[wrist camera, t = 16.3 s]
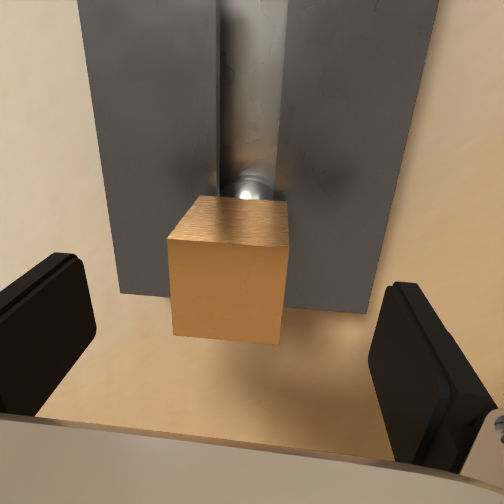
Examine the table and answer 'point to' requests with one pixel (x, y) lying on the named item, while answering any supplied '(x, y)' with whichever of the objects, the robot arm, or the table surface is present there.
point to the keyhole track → (256, 125)
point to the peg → (230, 264)
